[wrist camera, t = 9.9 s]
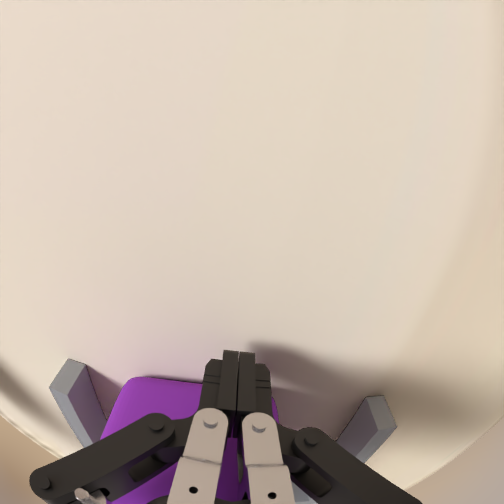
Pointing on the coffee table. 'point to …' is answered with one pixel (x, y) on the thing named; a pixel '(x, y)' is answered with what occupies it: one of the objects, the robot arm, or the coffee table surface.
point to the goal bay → (352, 439)
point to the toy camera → (175, 407)
